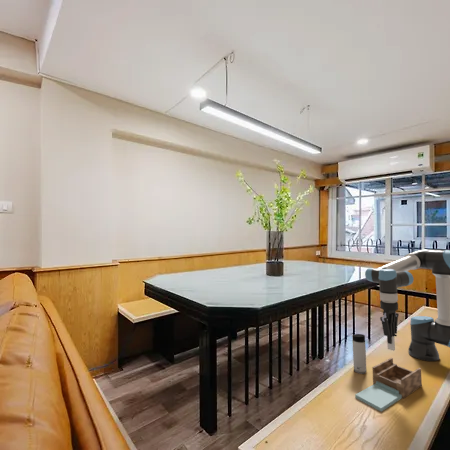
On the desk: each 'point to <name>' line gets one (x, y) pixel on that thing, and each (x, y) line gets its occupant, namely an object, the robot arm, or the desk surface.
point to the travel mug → (359, 353)
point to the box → (397, 377)
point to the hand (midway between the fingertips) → (391, 349)
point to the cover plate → (379, 396)
